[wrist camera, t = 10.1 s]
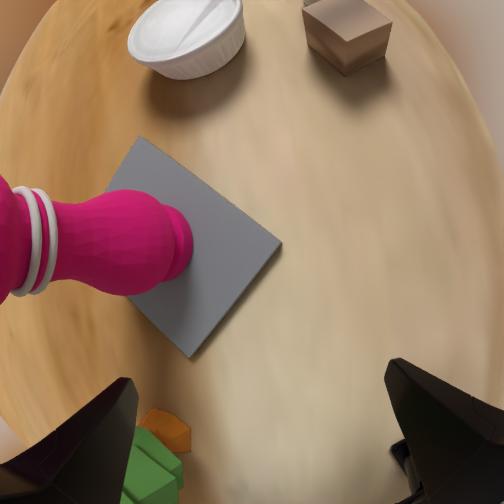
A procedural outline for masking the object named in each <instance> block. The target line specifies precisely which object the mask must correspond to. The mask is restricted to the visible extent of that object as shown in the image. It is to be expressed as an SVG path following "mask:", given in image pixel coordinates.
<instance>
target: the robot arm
mask: <svg viewBox="0 0 504 504" xmlns="http://www.w3.org/2000/svg"><path fill="white" fill-rule="evenodd" d="M384 381H385V385H386V388H387V391H388V394H389V397H390V401H391V404H392V407H393V411H394V414H395V416H396V419H397V421H398V423H399V426H400V428H401V431H402V433H403V435H404V438H405V439H403V440H401V441H399V442H397V443H396V444H394V445H392V447H391V451H392V453H393V455H394V457H395V458H396V460H397V461H398V463H399V465H400V466H401V468H402V470H403V471H404V473H405V474H406V476H407V478H408V482H409V486H410V490H411V496H410V497H408V498H406V499H404V500H402V501H401V502H399V503H395V504H504V410H501V409H499V408H496V407H494V406H491V405H489V404H487V403H485V402H483V401H481V400H479V399H477V398H475V397H473V396H472V397H471V395H469V394H467V393H465V392H463V391H462V390H460V389H458V388H456V387H454V386H452V385H450V384H448V383H447V382H445V381H443V380H441V379H439V378H437V377H435V376H434V375H432V374H430V373H428V372H426V371H424V370H422V369H421V368H419V367H417V366H415V365H413V364H411V363H410V362H408V361H406V360H404V359H402V358H395V359H391V360H390V361H389V363H388V366H387V369H386V372H385V376H384ZM138 400H139V397H138V393H137V390H136V388H135V385H134V383H133V381H132V379H131V378H126V377H120V378H118V379H117V380H116V381H115V382H113V383H112V384H111V385H110V386H108V387H107V388H106V389H105V390H103V391H102V392H101V393H100V394H99V395H97V396H96V397H95V398H94V399H92V400H91V401H90V402H89V403H87V404H86V405H85V406H84V407H83V408H81V409H80V410H79V411H78V412H76V413H75V414H74V415H73V416H71V417H70V418H69V419H68V420H66V421H65V422H64V423H63V424H61V425H60V426H59V427H58V428H56V431H55V430H54V431H53V432H51V433H50V434H49V435H47V436H46V437H45V438H43V439H42V440H41V441H39V442H38V443H37V444H35V445H34V446H32V447H30V448H29V449H27V450H26V451H24V452H22V453H21V454H20V455H18V456H16V457H14V458H13V459H11V460H9V461H7V462H5V463H3V464H0V504H120V501H121V496H122V490H123V485H124V480H125V475H126V470H127V465H128V461H129V456H130V452H131V447H132V443H133V438H134V433H135V424H136V416H137V408H138ZM395 448H397V449H395Z"/></svg>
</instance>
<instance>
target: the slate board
mask: <svg viewBox="0 0 504 504" xmlns="http://www.w3.org/2000/svg"><path fill="white" fill-rule="evenodd" d="M122 189H130V190H137V191H142V192H145V193H147V194H149V195H151V196H153V197H154V198H156V199H157V200H158V201H159V202H160V203H161V204H165V205H168V206H171V207H174V208H175V209H177V210H178V211H180V212H181V213H182V214H183V215H184V217H185V218H186V220H187V221H188V223H189V225H190V228H191V232H192V237H193V249H192V254H191V257H190V260H189V262H188V264H187V266H186V268H185V269H184V270H183V271H182V273H181V274H179V275H178V276H177V277H176V278H174V279H172V280H169V281H165V282H161V283H158V285H157V286H155V287H154V288H152V289H151V290H149V291H147V292H145V293H143V294H138V295H131V296H127V297H128V298H129V299H130V300H131V301H132V302H133V303H134V304H135V306H136V307H137V308H138V309H139V310H140V311H141V312H142V313H143V314H144V315H145V316H146V317H147V318H148V319H149V320H150V321H151V322H152V323H153V324H154V325H155V326H156V327H157V328H158V329H159V330H160V331H161V332H162V333H163V334H164V335H165V336H166V337H167V338H168V339H169V340H170V341H171V342H172V343H173V344H174V345H175V346H176V347H178V348H179V349H180V350H181V351H182V352H183V353H184V354H185V355H186V356H187V357H188V358H190V357H191V356H192V355H194V354H195V352H196V351H197V350H198V349H199V347H200V346H201V345H202V344H203V342H204V341H205V340H206V339H207V337H208V336H209V335H210V334H211V333H212V331H213V330H214V329H215V328H216V326H217V325H218V324H219V323H220V321H221V320H222V319H223V318H224V316H225V315H226V314H227V313H228V311H229V310H230V309H231V307H232V306H233V305H234V304H235V302H236V301H237V300H238V299H239V297H240V296H241V295H242V294H243V292H244V291H245V290H246V289H247V287H248V286H249V285H250V283H251V282H252V281H253V280H254V278H255V277H256V276H257V275H258V273H259V272H260V271H261V269H262V268H263V267H264V266H265V264H266V263H267V262H268V260H269V259H270V258H271V257H272V255H273V254H274V253H275V251H276V250H277V249H278V248H279V246H280V245H281V244H282V242H281V241H280V240H279V239H277V238H276V237H275V236H273V235H272V234H271V233H270V232H268V231H267V230H266V229H265V228H263V227H262V226H261V225H259V224H258V223H257V222H256V221H254V220H253V219H252V218H250V217H249V216H248V215H247V214H245V213H244V212H243V211H241V210H240V209H239V208H237V207H236V206H235V205H234V204H232V203H231V202H230V201H228V200H227V199H226V198H224V197H223V196H222V195H220V194H219V193H218V192H217V191H215V190H214V189H213V188H211V187H210V186H209V185H207V184H206V183H205V182H203V181H202V180H201V179H199V178H198V177H197V176H195V175H194V174H193V173H191V172H190V171H189V170H187V169H186V168H185V167H183V166H182V165H181V164H179V163H178V162H176V161H175V160H174V159H172V158H171V157H170V156H168V155H167V154H166V153H164V152H163V151H161V150H160V149H159V148H157V147H156V146H155V145H153V144H152V143H150V142H149V141H148V140H146V139H145V138H143V137H141V136H139V137H138V139H137V140H136V142H135V143H134V145H133V146H132V148H131V149H130V151H129V152H128V154H127V155H126V157H125V159H124V160H123V162H122V163H121V165H120V167H119V168H118V170H117V171H116V173H115V175H114V176H113V178H112V180H111V182H110V183H109V185H108V187H107V189H106V190H105V192H104V193H107V192H111V191H116V190H122Z"/></svg>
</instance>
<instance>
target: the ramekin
mask: <svg viewBox="0 0 504 504" xmlns="http://www.w3.org/2000/svg"><path fill="white" fill-rule="evenodd" d="M244 38H245V26H244V19H243V4H242V1H241V0H159V1H157V2H156V3H155V4H153V5H152V6H151V7H150V8H149V9H147V10H146V11H145V12H144V13H143V14H142V16H141V17H140V18H139V19H138V20H137V22H136V23H135V25H134V26H133V28H132V30H131V32H130V34H129V37H128V43H127V44H128V51H129V53H130V55H131V56H132V57H133V59H134V60H136V61H137V62H138V63H140V64H142V65H144V66H147V67H150V68H152V69H154V70H155V71H157V72H159V73H160V74H162V75H164V76H166V77H168V78H171V79H176V80H186V79H193V78H198V77H202V76H205V75H208V74H210V73H212V72H214V71H216V70H218V69H220V68H221V67H223V66H224V65H225V64H227V63H228V62H229V61H230V60H231V59H232V58H233V57H234V56H235V55H236V53H237V52H238V51H239V49H240V48H241V46H242V44H243V42H244Z"/></svg>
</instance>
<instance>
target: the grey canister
mask: <svg viewBox="0 0 504 504" xmlns="http://www.w3.org/2000/svg"><path fill="white" fill-rule="evenodd" d="M318 1H321V0H304V3H305V4H306V6H309V5H311V4H313V3H316V2H318Z"/></svg>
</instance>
